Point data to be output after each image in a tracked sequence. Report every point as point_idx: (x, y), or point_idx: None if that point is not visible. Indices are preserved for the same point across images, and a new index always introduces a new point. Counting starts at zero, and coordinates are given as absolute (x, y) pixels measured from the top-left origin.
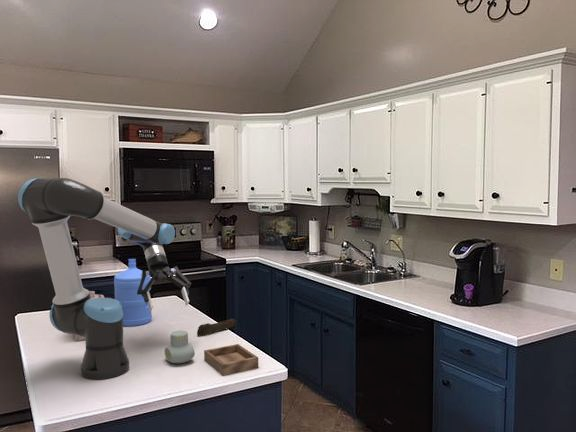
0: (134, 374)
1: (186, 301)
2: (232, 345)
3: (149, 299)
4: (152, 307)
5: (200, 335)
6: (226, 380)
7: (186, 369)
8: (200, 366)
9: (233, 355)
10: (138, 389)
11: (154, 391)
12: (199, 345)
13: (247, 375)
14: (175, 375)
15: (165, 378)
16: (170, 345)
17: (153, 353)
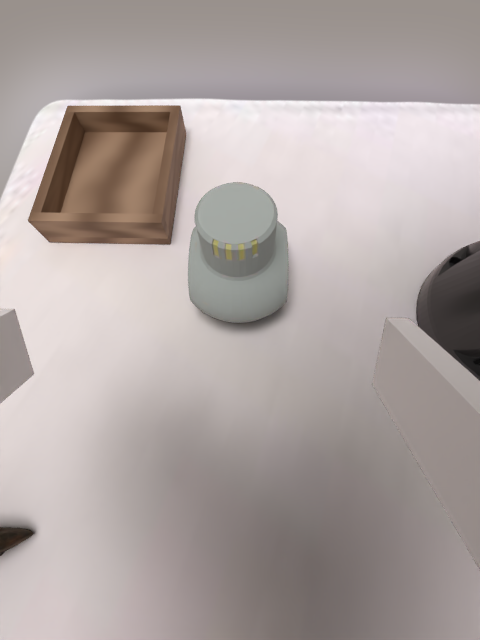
0: (405, 247)
1: (9, 337)
2: (53, 217)
3: (458, 368)
4: (385, 332)
5: (17, 528)
6: (193, 110)
7: None
8: None
9: (84, 208)
10: (405, 156)
11: (369, 131)
12: (102, 394)
13: None
14: (293, 186)
15: (324, 182)
16: (275, 252)
17: (302, 407)
